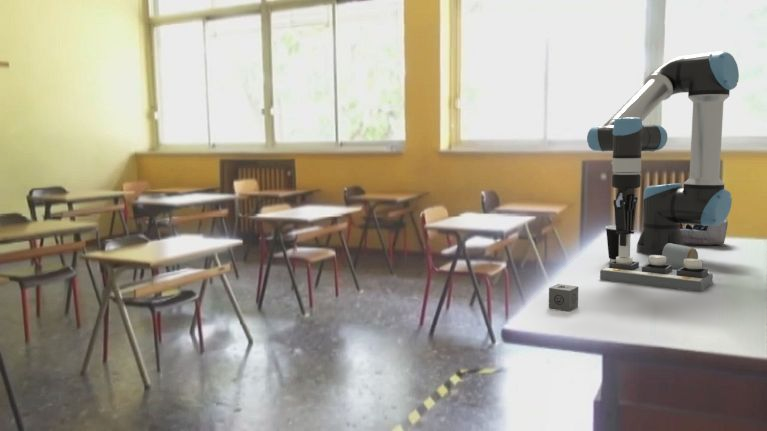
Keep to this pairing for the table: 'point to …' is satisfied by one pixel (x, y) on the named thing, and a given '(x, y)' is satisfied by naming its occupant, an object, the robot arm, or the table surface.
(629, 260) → the button
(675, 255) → the ceramic mug
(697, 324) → the table surface
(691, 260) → the button
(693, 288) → the button board
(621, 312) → the table surface
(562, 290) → the dice cube
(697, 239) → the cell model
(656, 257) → the middle button
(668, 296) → the table surface
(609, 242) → the dixie cup
